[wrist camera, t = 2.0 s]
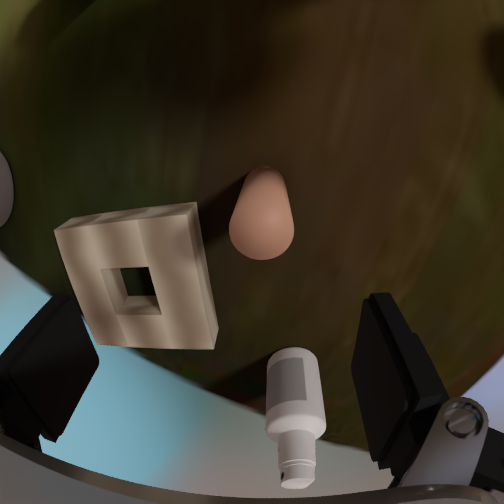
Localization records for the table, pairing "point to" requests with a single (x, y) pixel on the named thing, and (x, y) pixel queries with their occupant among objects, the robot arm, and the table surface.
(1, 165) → the cylinder vase
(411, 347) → the robot arm
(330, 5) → the table surface
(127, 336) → the socket block
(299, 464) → the spray bottle
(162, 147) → the table surface
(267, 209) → the peg
